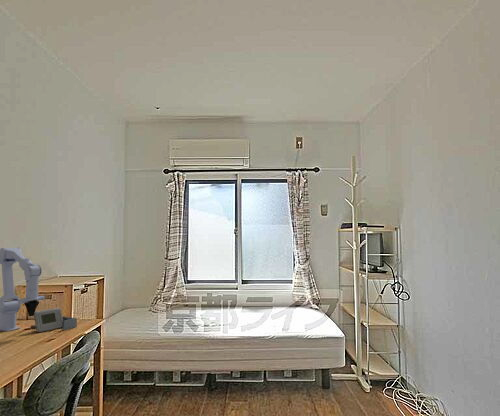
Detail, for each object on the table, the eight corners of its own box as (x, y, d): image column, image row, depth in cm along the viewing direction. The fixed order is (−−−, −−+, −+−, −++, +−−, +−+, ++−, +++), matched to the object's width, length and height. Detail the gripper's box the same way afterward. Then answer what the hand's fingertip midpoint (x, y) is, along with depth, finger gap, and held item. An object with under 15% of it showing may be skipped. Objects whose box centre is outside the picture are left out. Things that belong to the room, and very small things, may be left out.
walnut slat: (35, 329, 232) (36, 325, 232) (30, 329, 232) (30, 325, 232) (47, 324, 244) (47, 321, 244) (42, 324, 244) (42, 321, 244)
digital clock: (36, 333, 222) (37, 313, 222) (29, 330, 228) (30, 310, 228) (67, 328, 234) (67, 308, 235) (59, 326, 240) (60, 306, 241)
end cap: (43, 328, 234) (44, 318, 234) (57, 324, 243) (57, 315, 243) (63, 330, 229) (64, 321, 229) (76, 327, 237) (76, 318, 237)
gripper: (25, 291, 211) (24, 319, 210) (49, 287, 224) (48, 314, 223) (15, 290, 213) (14, 317, 213) (39, 287, 227) (38, 312, 226)
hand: (31, 315), depth 218 cm, fingers closed
